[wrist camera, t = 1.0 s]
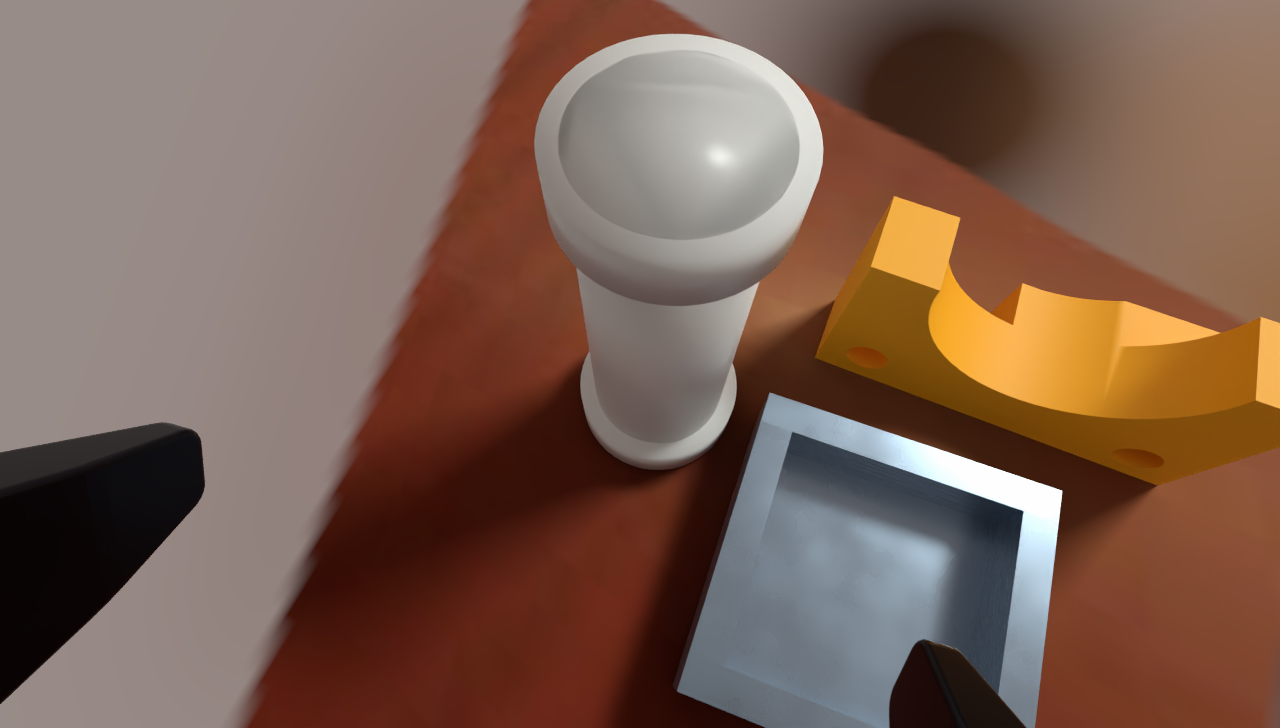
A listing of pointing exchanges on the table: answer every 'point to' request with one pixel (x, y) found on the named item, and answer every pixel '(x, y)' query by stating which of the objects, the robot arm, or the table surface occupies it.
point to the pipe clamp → (1055, 359)
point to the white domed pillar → (672, 226)
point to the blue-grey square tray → (866, 574)
